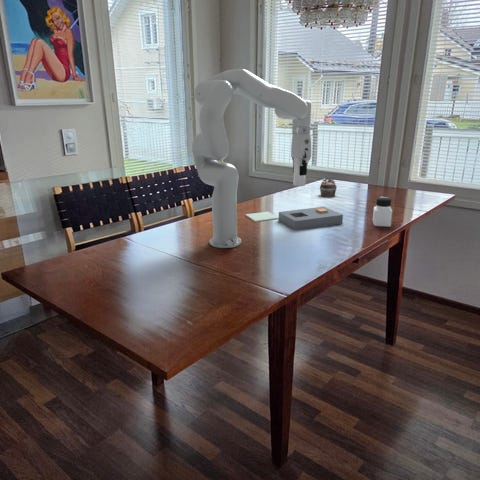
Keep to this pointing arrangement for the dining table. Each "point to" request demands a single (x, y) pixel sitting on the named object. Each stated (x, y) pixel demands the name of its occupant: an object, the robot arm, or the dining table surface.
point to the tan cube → (321, 211)
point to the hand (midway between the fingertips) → (299, 173)
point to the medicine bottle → (382, 212)
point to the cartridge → (298, 179)
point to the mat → (262, 216)
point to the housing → (309, 218)
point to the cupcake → (328, 187)
